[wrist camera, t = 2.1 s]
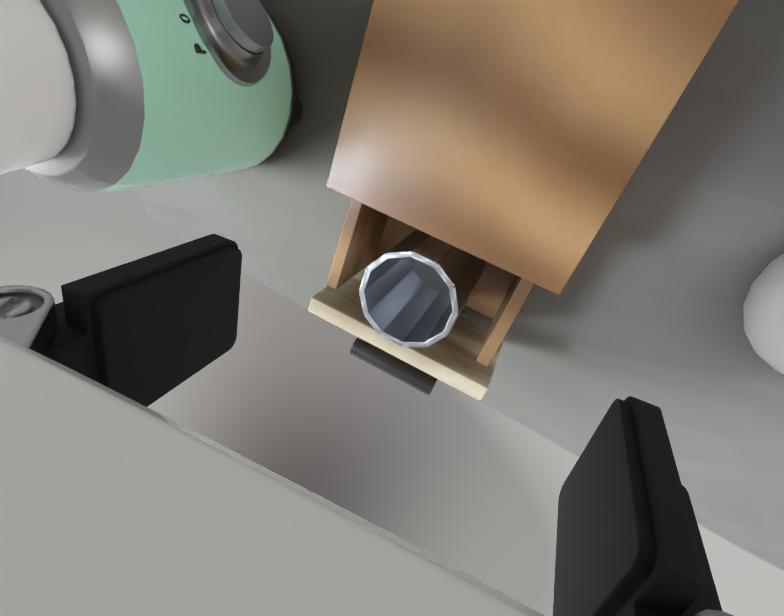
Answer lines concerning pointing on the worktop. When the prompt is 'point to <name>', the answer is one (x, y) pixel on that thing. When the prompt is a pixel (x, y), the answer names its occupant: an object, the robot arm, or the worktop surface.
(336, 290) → the drawer
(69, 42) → the juicer
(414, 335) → the measuring cup
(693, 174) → the worktop surface
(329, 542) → the robot arm
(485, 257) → the cabinet
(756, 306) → the donut
